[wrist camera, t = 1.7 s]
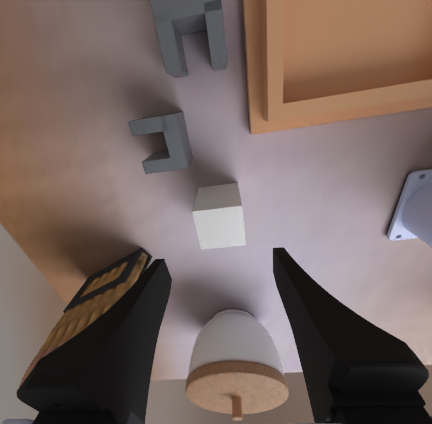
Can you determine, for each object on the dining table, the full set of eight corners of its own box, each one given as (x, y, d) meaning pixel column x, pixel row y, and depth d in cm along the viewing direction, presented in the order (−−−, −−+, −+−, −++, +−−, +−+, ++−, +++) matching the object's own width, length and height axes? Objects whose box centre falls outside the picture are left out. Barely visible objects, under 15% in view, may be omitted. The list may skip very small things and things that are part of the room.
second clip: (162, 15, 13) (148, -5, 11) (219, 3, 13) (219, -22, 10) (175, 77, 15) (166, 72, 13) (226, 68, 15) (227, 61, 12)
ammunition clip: (98, 285, 28) (24, 395, 18) (87, 278, 27) (3, 387, 17) (152, 256, 25) (102, 369, 14) (142, 247, 24) (81, 358, 14)
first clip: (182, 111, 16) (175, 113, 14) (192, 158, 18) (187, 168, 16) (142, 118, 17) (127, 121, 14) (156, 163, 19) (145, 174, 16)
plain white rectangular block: (237, 182, 19) (242, 205, 15) (240, 216, 21) (245, 245, 17) (198, 187, 20) (192, 211, 16) (205, 220, 22) (201, 249, 17)
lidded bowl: (196, 341, 35) (186, 433, 25) (192, 296, 28) (176, 394, 19) (266, 343, 34) (283, 437, 25) (278, 298, 28) (306, 400, 19)
